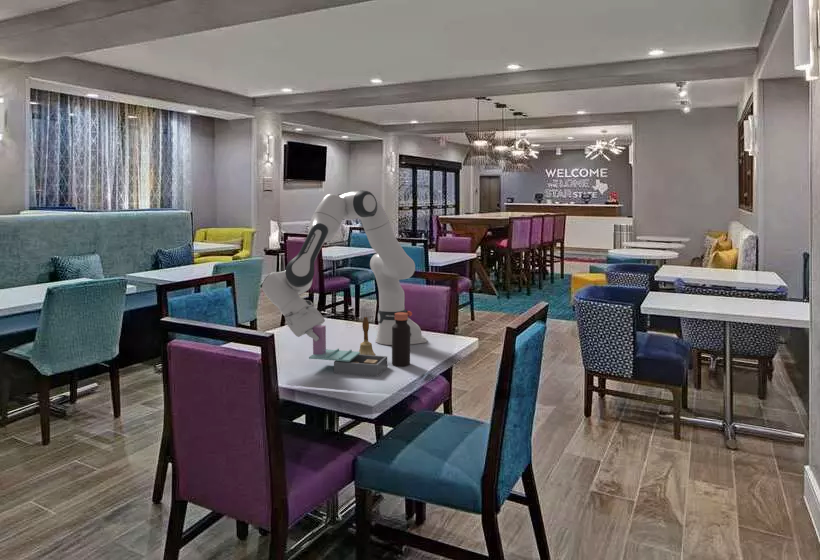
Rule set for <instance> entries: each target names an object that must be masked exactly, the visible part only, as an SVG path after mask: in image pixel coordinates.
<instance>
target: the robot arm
mask: <svg viewBox="0 0 820 560" xmlns="http://www.w3.org/2000/svg"><path fill="white" fill-rule="evenodd" d="M357 219H359V220H360V221H361V225H362V227H363V230H364V232H365V235H366V238H367V240H368V243H369V245H370V247H371V249H373V250H374V251H375V252H376V253H374V254H373V255H372V256H371V258H370V261H369V267H370V269H371V271H372V273H373V274H374V277H375V280H376V284H377V290H378V306H379V307H378V311H377V322H378V326H377V333H376V337H375V340H374V341H375V342H376V343H377V344H381V345H387V346H392V326H393V325H394V324H395V323H396V321H395V313H398V312H404V313H408V321H407V324H408V325H409V326H410V346H411V345H417V344H424V343H425V344H426V343H427V341H428V340H427V338H426V336H424V335H422V330H421V327H420V326H419V324H417V323H416V322H414V321H413V320H412V319H411V318H409V317H411V316H412V315H413V312H412V311H410V310H407V309H406V308H405V299H406V298H405V291H404V288H403V287H402V285H401V283H400V282H401V280H406V279H407V280H408V279H409V278H411V277H412V276H413V275H414V274H415V271H416V264H415V261H414V260H413V259H412V258H411V257H410V256H409V255H408V254H407V253H406V251H405V250H404V248H403V246H402V245H401V243H400V242H399V241H398V239H397V237H396V235H395V232H394V231H393V227H392V225H391V223H390V219H389V218H388V215H387V213H386V210H385V209H384V207H383V206H382V203H381V202H380V201H379V200H378V199H377V198H376V197H375V195H374V194H373V193H372V192H371V191H368V190H352V191H348V192H345V193H340V194H339V193H338V194H335V193H328V194H326V195H325V196H323V198H322V200H321V201H320V202H319V204H318V205H317V207H316V208H315V211H314V212H313V214H312V216H311V219H310V221H309V222H310V223H309V225H308V231H307V232H308V234H307V236H306V238H305V241H304V242H303V244H302V246H301V248H300V250H299V252H298V253H297V254H296V256H294V258H292V259H291V260H290V261H289V262H288V263H287V264H286V267H285V270H283V271H272V272H271V273H269V274H268V275H267V276H266V277H265V278H264V280H263V282H262V284H261V290H262V292H263V293H264V294H265V297H267V299H269V301H270V302H271V303H272V304H273V305H274V306H275V307H277V308H278V310H279V312H280V313H281V314H282V315H283V316H284V320H285V321H286V325H287V327H288V328H289V329H290V331H291V332H292V333H293V334H294V335H295V336H296V337H298V338H300V337H302V336H304V335H307V336H308V337H309V338H311V339H312V340H313V339H314V340H315V341H318V340H319V339H320V337H319V335H318V334H317V335H316V334H315V333H314V332H313V327H314V326H316V325H323V324H324V323H325V321H326V320H325V317H324V316H323V315H322V314H321V312H320V311H319V310H318V308H316V307H315V306H313V305H314V303H313V302H312V301H311V300H309V299H308V300H307V299H304V298H302V297H300V296H301V295H303V294H304V293H306V292H307V291H309V290H310V289H311V287H312V284H313V278H314V276H315V262H316V259H317V257H318V255H319V254H320V251H321V249H322V247H323V245H324V244H325V243H328V242H331V241H332V240H333V239H334V237H335V236H336V235H337V233H338V231H339V229H340V226H341V224H342V221H345V220H348V221H349V220H351V221H352V220H357Z"/></svg>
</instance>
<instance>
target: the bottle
mask: <svg viewBox="0 0 820 560" xmlns="http://www.w3.org/2000/svg"><path fill="white" fill-rule="evenodd" d="M408 318H409V317H408V313H404V312H398V313H395V321H396V323H395V324H394V325H393V326H392V345H391V366H393V367H398V368H399V367H400V368H404V367H409V366H410V365H411V345H410V326H409V325H408V324H407V321H408Z"/></svg>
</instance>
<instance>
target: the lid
mask: <svg viewBox="0 0 820 560" xmlns="http://www.w3.org/2000/svg"><path fill="white" fill-rule="evenodd" d="M326 328H327V326H326V325H323V324H322V325H316V326H314V327H313V332H314V333H315V334H316V335H317V334H318V335H319V337H320V339H319V340H318V341H315V340H314V339H313V338H312V353H313V354H311V355H310V356H308V359H309V360H322V361H332V362H334V361H346V362H350V361H351V360H352V359H354V358H355V357H356V356H358V355H359V354H360V352H359V351H354V350H353V351H352V349H349V350H341V349H340V348H336V349H327V339H326V338H327V335H326V334H327V333H326V332H327V331H326Z"/></svg>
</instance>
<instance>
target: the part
mask: <svg viewBox="0 0 820 560" xmlns="http://www.w3.org/2000/svg"><path fill="white" fill-rule="evenodd" d="M377 363H378V360H371V359H367V360H366V361H364V364H377Z"/></svg>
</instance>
